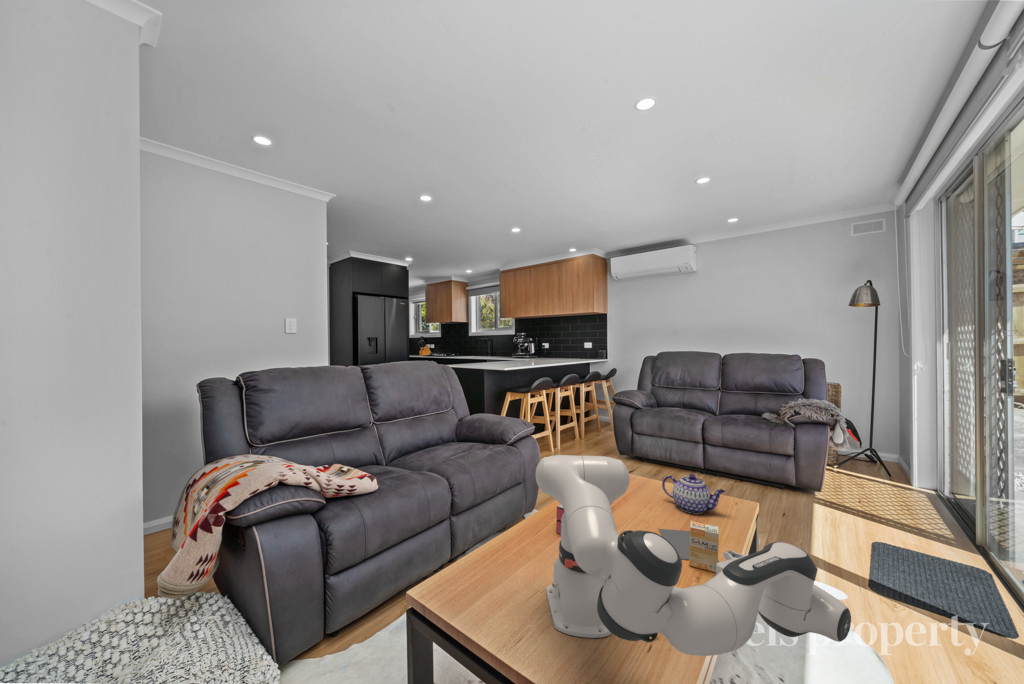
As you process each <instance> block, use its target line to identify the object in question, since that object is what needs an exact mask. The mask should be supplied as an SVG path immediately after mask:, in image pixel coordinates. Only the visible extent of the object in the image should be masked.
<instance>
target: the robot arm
mask: <svg viewBox="0 0 1024 684" xmlns="http://www.w3.org/2000/svg"><path fill="white" fill-rule="evenodd" d="M629 473H630V472H629V469H628V467H627V466H626V464H625V463H624V462H623V460H621V459H618V458H614V457H609V456H604V455H574V454H573V455H571V454H570V455H569V454H556V455H551V456H545V457H542V458H541V459H540V461H539V462H538V463H537V466H536V468H535V480H536V484H537V486H538V488H539V489H540V491H541V492H542V493H543V494H546V495H548V496H550V497H552V498H553V499H555V500H556V501H557V502H558V503H559V505H562V507H563V508H564V511H565V512H564V514H563V515H562V519H561V535H560V540H559V545H558V558H557V559H556V560H555V561H554V562H553V573H552V580H553V581H552V584H551V585H548V586H547V587H546V588H545V594H546V598H547V602H548V606H549V610H550V614H551V619H552V623H553V627H554V629H556V630H557V631H559V632H561V633H564V634H565V635H569V636H575V637H580V638H589V639H590V638H591V639H592V638H593V639H594V638H595V639H597V638H599V639H600V638H604V637H608V636H610V635H614V636H616V637H617V638H620V639H621V640H624V641H625V640H626V641H629V642H638V641H643V642H645V643H652V642H654V641H655V640H656V639H657V637H658V634H661V635H662V636H664V637H665V639H666V640H667V642H668V643H669V644H670V645H671V646H672V647H673V648H674V649H675V650H676V651H678V652H680V653H682V654H685V655H688V656H695V657H697V656H698V657H709V656H710V657H711V656H712V657H713V656H718V655H719V656H720V655H723V654H728V653H732V652H735V651H737V650H739V649H741V648H742V647H743V646H744V645H746V643H748V642H749V640H750V639H751V637H752V636H753V634H754V630H755V628H756V622H757V618H758V615H759V616H760V617H761V619H762V620H763V621H764V622H765V623H766V625H768V626H769V627H770V628H771V629H773V630H774V631H776V632H777V633H779V634H781V635H783V636H785V637H786V638H787V637H788V638H796V637H800V636H804V635H806V634H808V633H811V634H812V633H813V634H817V635H821V636H824V637H825V638H828V639H830V640H832V641H835V642H838V643H840V642H843V641H844V640H846V638H847V637H848V635H849V632H850V630H851V624H852V615H851V611H850V609H849V607H848V606H847V605H846V604H844V603H843V602H842V601H841V600H839V599H837V597H835V596H833V595H832V594H830V593H829V592H828V591H826V590H824V589H823V588H821V587H819V586H817V584H815V581H816V577H817V573H818V567H817V565H816V564H815V562H814V560H813V559H812V557H811V556H810V555H809V553H808V552H806V551H805V550H803V549H802V548H800V547H799V546H795V545H793V544H791V543H787V542H782V541H773V542H770V543H767V544H766V545H764V546H763V548H762V549H761V550H759V551H756V552H753V553H750V554H747V555H746V554H744V553H743V554H742V553H739V552H736V551H734V550H727V551H723V558H724V559H725V560H723V561H719V562H718V563H717V564H716V573H715V574H716V575H714V576H713V577H712V578H710V579H709V580H707V581H706V582H704V583H702V584H699V585H698V584H697V585H691V586H687V587H685V588H683V587H678V586H676V585H677V584H678V582H679V581H680V577H681V574H682V568H683V560H681V558H680V556H679V554H678V552H677V550H676V549H675V548H674V546H673V545H672V544H671V543H670V542H669V541H668V540H666V539H665V538H664V537H662V535H661V534H659V533H656V532H654V531H649V530H640V529H639V530H638V529H637V530H624V531H622V532H621V533H620V534H619V533H618V530H617V525H616V522H615V517H614V514H613V510H612V507H611V506H612V504H614V503H615V501H616V500H617V499H619V498H620V497H622V496H623V495H625V494H626V492H627V490H628V488H629V486H630V477H631V476H630V474H629Z"/></svg>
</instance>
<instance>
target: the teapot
mask: <svg viewBox="0 0 1024 684" xmlns="http://www.w3.org/2000/svg"><path fill="white" fill-rule="evenodd" d="M667 479H671V481H672V484H673V487H672V493H670V492H669V491H668V490H667V488H666V487H665V486H666V485H665V484H666V482H667ZM661 483H662V484H661V487H662V490H663V491H664V493H665V494H666V495H667V496H669V498H671V499H673V501H674V502H675V504H676V505H677V507H678V508H679V509H680V510H681V511H683V512H684V511H685V513H687V512H688V514H691V513H693V514H694V515H701V513H702V514H703V513H705V512H707V511H713V510H715V509H716V508H717V507H718V505H719V500H720V497H721V496H720V495H722V494H723V493H725V492H726V490H724V489H722V488H718V489H716V491H715V492H714V493H713V494H712V491H711V489H710V488H709V487H708V486H707V484H706V482H705V481H704V480H703V479H701V478H697V476H696V475H695V474H693V473H692V474H689V475H688V476H682V477H680V478H679V479H678V480H676V478H674V476H672V475H667V476H665V477H664V478H663V480H662V482H661ZM693 514H692V515H693Z"/></svg>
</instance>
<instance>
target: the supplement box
mask: <svg viewBox="0 0 1024 684" xmlns="http://www.w3.org/2000/svg"><path fill="white" fill-rule="evenodd" d="M719 528H720V527H719V526H716V525H711V524H708V523H704V522H703V523H702V522H698V521H694V520H690V522H689V531H690V549H689V560H688V566H689V567H692V568H698V569H701V570H706V571H708V572H711V573H715V574H716V564H717V563H718V561H719V544H720V543H719V542H720V539H719V537H720V532H719V530H720V529H719Z"/></svg>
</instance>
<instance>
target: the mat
mask: <svg viewBox="0 0 1024 684" xmlns="http://www.w3.org/2000/svg"><path fill="white" fill-rule="evenodd" d="M658 531H659V533H660V536H662V537H664V538H665V539H666V540H668V541H669V542H670V543H671V544H672V545H673V546H674V548H675V549H676V550H677V552H678V554H679V556H680V558H681V560H682V561H689V549H690V530H683V529H682V530H681V529H671V528H670V529H669V528H667V529H666V528H658ZM718 562H720V561H719V560H718Z"/></svg>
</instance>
